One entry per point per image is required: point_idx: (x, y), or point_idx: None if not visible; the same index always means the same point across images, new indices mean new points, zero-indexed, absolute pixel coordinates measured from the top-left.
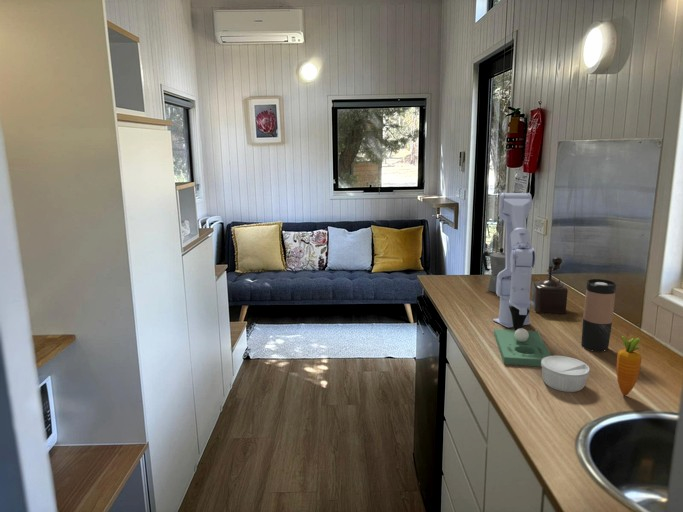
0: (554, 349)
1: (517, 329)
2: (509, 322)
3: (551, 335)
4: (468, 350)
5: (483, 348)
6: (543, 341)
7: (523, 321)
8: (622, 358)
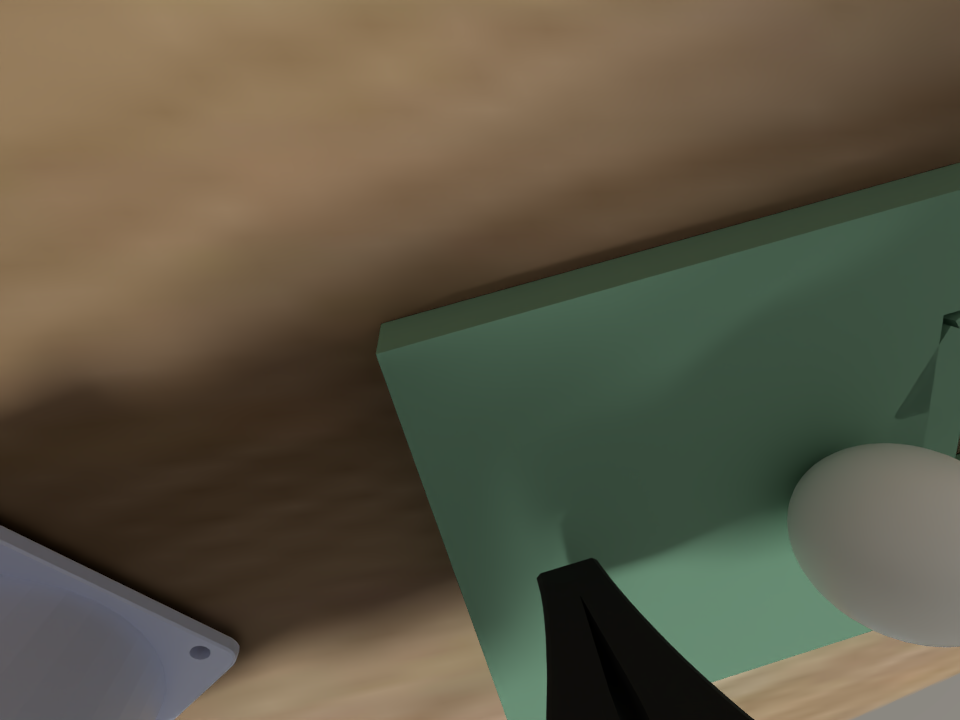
0: (750, 74)
1: (957, 646)
2: (145, 689)
3: (181, 124)
4: (865, 710)
5: (821, 657)
6: (790, 237)
7: (708, 684)
8: None
